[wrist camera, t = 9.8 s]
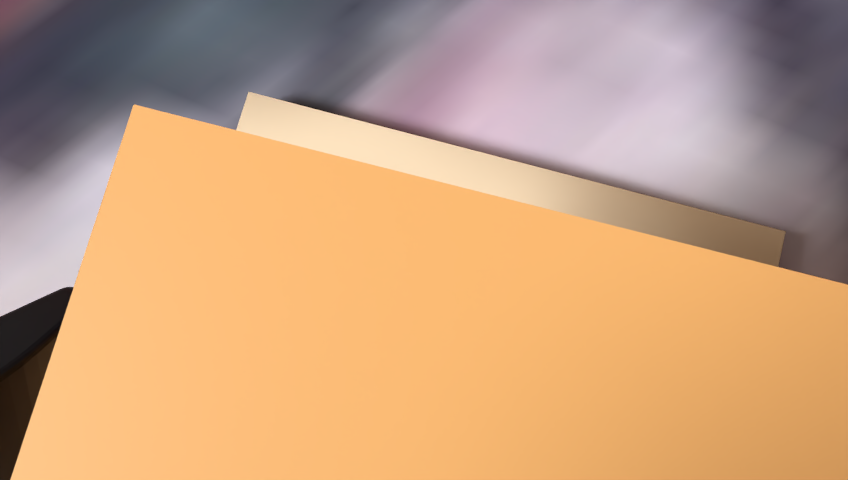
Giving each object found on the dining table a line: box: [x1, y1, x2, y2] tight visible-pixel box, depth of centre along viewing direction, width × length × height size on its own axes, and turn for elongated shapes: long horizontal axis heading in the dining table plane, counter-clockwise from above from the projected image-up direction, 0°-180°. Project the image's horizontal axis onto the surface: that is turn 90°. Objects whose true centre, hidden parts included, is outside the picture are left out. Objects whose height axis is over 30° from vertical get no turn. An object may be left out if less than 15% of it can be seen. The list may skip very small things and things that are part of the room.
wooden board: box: [237, 92, 786, 267], centre depth 16 cm, size 12×12×1 cm
